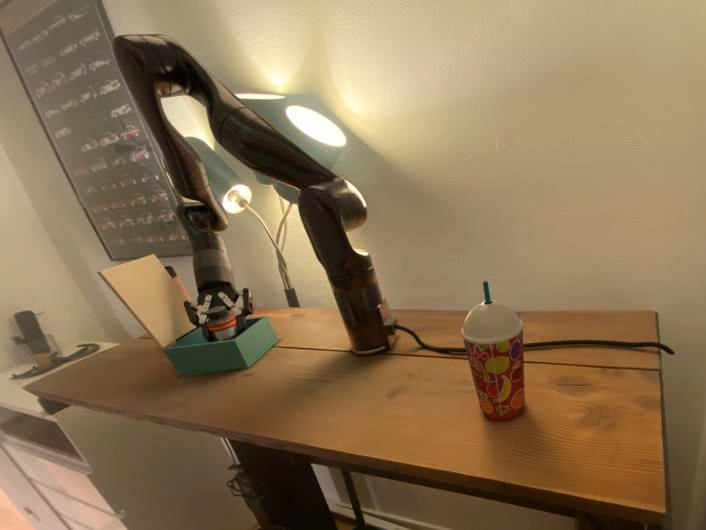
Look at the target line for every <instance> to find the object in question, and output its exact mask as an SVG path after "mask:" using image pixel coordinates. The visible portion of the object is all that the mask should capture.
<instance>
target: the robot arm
mask: <svg viewBox="0 0 706 530" xmlns="http://www.w3.org/2000/svg"><path fill="white" fill-rule="evenodd" d="M111 45H112V52H113V56H114V59H115V62H116V65H117V67H118V70H119V72H120V74H121V76H122V78H123V81H124V83H125V84H126V86H127V88H128V90H129V93H130V94H131V96H132V98H133V100H134V102H135V104H136V106H137V108H138V110H139V112H140V114H141V116H142V118H143V119H144V121H145V123H146V125H147V127H148V128H149V131H150V132H151V135H152V136H153V138H154V140H155V142H156V143H157V146H158V148H159V150H160V151H161V154H162V157H163V159H164V162H165V165H166V167H167V170H168V173H169V176H170V179H171V182H172V184H173V187H174V189H175V191H176V193H177V195H179V196H180V197H182V198H184V199H187V200H190V201H183V202H182V201H181V202H179V203H177V205H176V206H175V208H174V215H175V218H176V220H177V222H178V224H179V226H180V228H181V229H182V231H183V232H184V235H186V237H187V240H188V242H189V246H190V251H191V257H192V269H193V274H194V275H193V276H194V280H195V285H196V290H197V293H198V295H197V298H196V299H195V300H191V301H192V302H189V301H184V303H183V304H184V307H185V310H186V313H187V315H188V318H189V321H190V323H192V324H193V325H195V326H196V327H201V329H202V334H203V337H204V338H206V339H207V340H209V341H210V342H211V341H214V338H213V336H212V334H211V332H210V331H209V329H208V327H207V322H208V320H209V318H208V317H207V315H206V313H205V312H206V311H207V310H209V309H211V308H214V307H218V306H225V307H226V309H227V311H228V312H230V311H232V312H233V313H234V314H235V318H236V322H237V327H238V330H239V332H240V333H243V332H244V331H245V330H247V324H246V319H247V317H248V316H252V315H253V314H254V295H253V293H252V292H251V290H250V289H249V288H248V287H243V288H242V289H241V290H237V288H236V287H237V286H236V283H235V279H234V278H235V277H234V274H233V272H234V271H233V267H232V264H231V262H230V259H229V257H228V252H227V247H226V242H225V240H224V238H223V237H222V235H220V234H219V233H220V232H224V231H226V230H227V229H228V228H229V224H230V223H229V222H230V221H229V215H228V214H227V212H226V210H225V208H224V207H223V205H222V204H221V202H220V201H219V199H218V197H217V196H216V194H215V193H214V189H213V188H212V185H211V182H210V178H209V175H208V171H207V168H206V165H205V162H204V160H203V158H202V155H201V154H200V152H199V150H197V149H196V147H195V146H194V145H193V144H192V143H191V142H190V141H189V139H187V138H186V137H185V136H184V135H183V134H182V133H181V131H179V130H178V129H177V128H176V127H175V126H174V124H173V123H172V122H171V121H170V120H169V118H168V116H167V114H166V112H165V110H164V106H163V104H162V99H165V98H167V99H168V98H174V97H182V96H187V97H190V98H192V99H194V100H195V101H197V102H198V103H199V104H200V105H202V107H204V108H205V111H206V116H207V121H208V125H209V129H210V131H211V133H212V136H213V138H214V139H215V140H216V142H217V144H218V145H219V146H220V147H222V148H223V149H224V150H225V151H226V152H227V153H228V154H230V155H231V156H232V157H233V158H235V159H236V160H237V161H238V162H239V163H240V164H242V165H243V166H245V167H246V168H248V169H250V170H251V171H253V172H254V173H257V174H259V175H261V176H264V177H266V178H269V179H271V180H273V181H276V182H278V183H282V184H285V185H286V186H289V187H292V188H294V189H296V190H298V191H299V193H298V195H297V210H298V215H299V218H300V221H301V223H302V226H303V228H304V231H305V233H306V236H307V238H308V241H309V243H310V245H311V248H312V251H313V253H314V255H315V257H316V259H317V261H318V263H319V264H320V265H321V266H322V268H323V270H324V271H325V274H326V277H327V280H328V283H329V286H330V289H331V291H332V294H333V297H334V300H335V303H336V305H337V309H338V312H339V314H340V317H341V320H342V323H343V326H344V328H345V332H346V334H347V337H348V340H349V343H350V346H351V349H352V352H353V353H354V354H355V355H360V356H368V355H374V354H377V353H380V352H383V351H386V350H390V349H392V348H393V345H394V343H395V341H396V340H397V331H398V330H399V331H402V332H405V333H407V334H408V335H410V336H412V338H413V339H414V340H415V342H416V343H417V345H419V346H420V347H421V348H423V349H425V350H429V351H432V352H433V351H434V352H437V353H438V352H440V353H441V352H443V353H466V349H465V347H450V346H449V347H445V346H444V347H443V346H441V347H440V346H439V347H438V346H432V345H429V344H427V343H425V342H424V341H422V340H421V338H420V337H419V335H418V334H417V333H416V332H415V331H413V329H410V328H408V327H406V326H404V325H400V324H399V323H398V319H397V317H396V316H392V315H391V312H390V308H389V304H388V301H387V298H386V297H383V295H382V292H381V288H380V284H379V281H378V277H377V273H376V271H375V266H374V263H373V260H372V256H371V254H370V253H369V252H368V250H365V249H357V248H355V247H354V246H353V245H352V244H351V242H350V239H349V236H348V233H351V232H353V231H356V230H357V229H359V228H361V227H362V226H363V225H365V223H366V221H367V219H368V207H367V204H366V201H365V199H364V197H363V196H362V194H361V193H360V192H359V190H358V189H357V188H356V187H355V185H353V184H352V183H351V182H349V181H348V180H346V179H345V178H343V177H342V176H341V175H339V174H337V173H335V172H334V171H332V170H331V169H330V168H328V167H326V166H325V165H323V164H322V163H320V162H319V161H318V160H317V159H315V158H313V157H312V156H311V155H309V154H308V153H307V152H306V151H304V150H303V149H302V148H301V147H299V146H298V145H297V144H296V143H295V142H293V141H292V140H291V139H290V138H289V137H287V136H286V135H285V134H283V133H282V132H281V131H279V129H277V128H276V127H275V126H274V125H273V124H272V123H271V122H269V121H268V120H267V119H266V118H265V117H264V116H262V115H261V114H260V113H259V112H257V111H256V110H255V109H253V108H252V107H251V106H250V105H248V104H247V103H246V102H245V101H243V100H242V99H241V98H240V97H238V96H237V95H236V94H235V93H234V92H232V90H230V89H229V88H228V87H227V86H225V84H223V83H222V82H221V81H220V80H219V79H218V78H217V77H216V76H214V75H213V74H212V73H211V71H209V69H207V67H205V66H204V65H203V64H202V62H200V60H199V59H198V58H197V57H195V55H193V54H192V52H190V51H189V50H188V49H187V48H186V47H185V46H184V45H183V44H182V43H180V42H179V41H177V40H176V39H174V38H173V37H171V36H170V35H165V34H160V33H143V34H141V33H139V34H137V33H136V34H133V33H131V34H119V35H116V36H115V37H114V38H113V40H112V44H111ZM239 298H241V300H242V306H243V307H242V309H240V308H239V307H238V306H237V305H236V303H237V302H238V299H239ZM200 306H202V308H201V311H200V316H201V317H200V319H199V316H198V313H199V307H200ZM197 312H198V313H197ZM572 345H574V346H575V345H576V346H577V345H588V346H589V345H591V346H594V345H595V346H613V347H623V348H656V349H659V350H662V351H664V352H665V353H666V354H668V355H670V356H674V355H676V353H675V351H674V350H673V349H672V348H670V347H669V346H668V345H666V344H663V343H660V342H656V341H636V342H635V341H634V342H633V341H631V342H630V341H620V340H605V339H604V340H603V339H565V340H563V339H561V340H550V341H548V340H547V341H538V342H536V341H535V342H525V343H523V349H529V348H540V347H542V348H543V347H555V346H572Z"/></svg>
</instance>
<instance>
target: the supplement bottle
mask: <svg viewBox="0 0 706 530" xmlns="http://www.w3.org/2000/svg"><path fill="white" fill-rule="evenodd" d="M205 313H206V315H207V317H208V318H209V320H208V322H207V327H208V329H209V331H210V332H211V334H212V336H213V338H214V340H215V341H216V342H218V341H226V340H234V339H235V338H236V337H238V336H239V335H240V334H242V333H240V332H239V330H238V327H237V322H236V318H235V316H236V314H235V315H234V314H233V313H229V311H227V309H226V307H225V306H218V307H214V308H211V309H209V310H207V311H206V312H205Z"/></svg>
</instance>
